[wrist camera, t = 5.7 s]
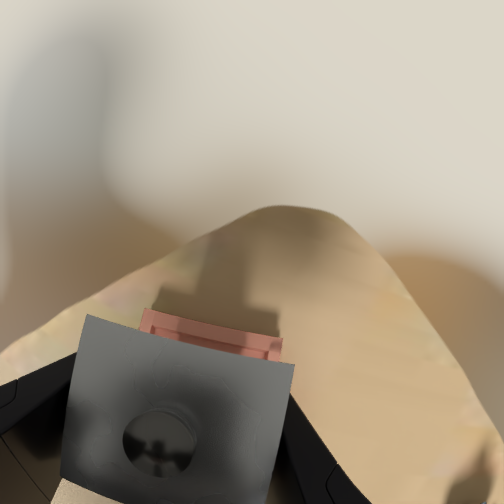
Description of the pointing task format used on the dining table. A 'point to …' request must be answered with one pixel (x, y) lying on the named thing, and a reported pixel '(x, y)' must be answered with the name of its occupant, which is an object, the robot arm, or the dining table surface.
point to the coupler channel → (211, 336)
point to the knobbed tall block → (171, 419)
